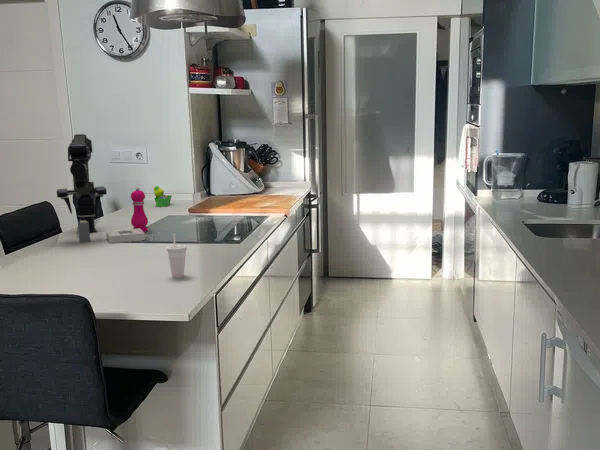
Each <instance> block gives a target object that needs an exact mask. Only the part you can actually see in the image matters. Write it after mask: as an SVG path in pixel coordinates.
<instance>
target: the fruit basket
mask: <svg viewBox="0 0 600 450" xmlns="http://www.w3.org/2000/svg"><path fill="white" fill-rule="evenodd" d="M153 193H154V202H155V204H156V207H157V208H163V207H164V208H166V207H168V206H169V205H170V204H171V200H172V197H173V196H172V195H170V194H169V195H166V194H164V193H165V190H164V189H162V188H161V187H160V186H158V185H155V186H154V187H153Z"/></svg>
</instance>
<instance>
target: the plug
mask: <svg viewBox="0 0 600 450" xmlns="http://www.w3.org/2000/svg"><path fill="white" fill-rule="evenodd" d="M77 232H78V241H79V244H83V243H90V242H91V235H90V232H89V223H88V221H86V220H84V221H81V220H79V221H77Z"/></svg>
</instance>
